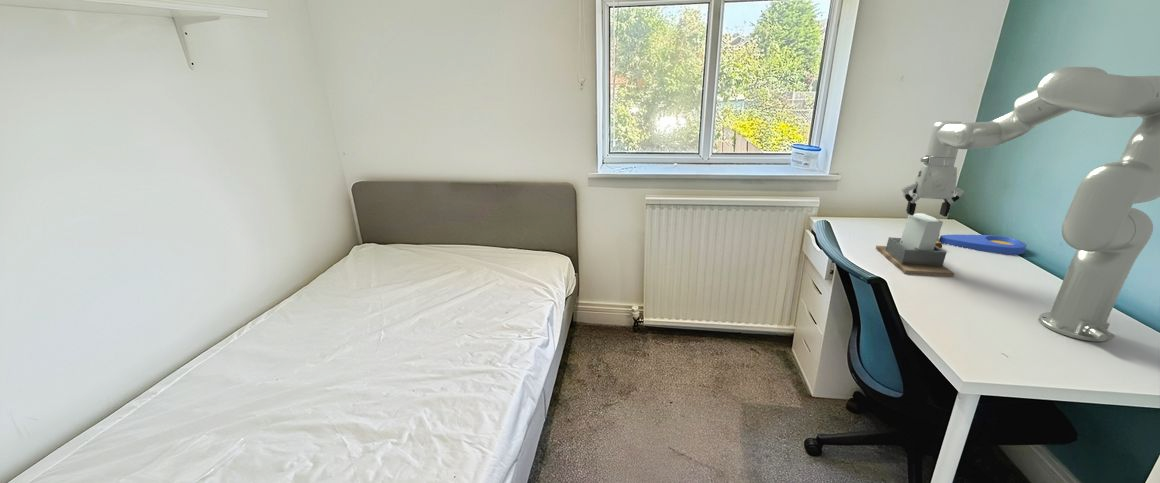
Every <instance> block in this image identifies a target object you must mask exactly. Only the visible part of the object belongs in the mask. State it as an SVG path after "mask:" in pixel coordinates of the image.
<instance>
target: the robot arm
mask: <svg viewBox="0 0 1160 483" xmlns="http://www.w3.org/2000/svg"><path fill="white" fill-rule="evenodd" d="M1072 111H1074V112H1075V111H1076V112H1079V113H1080V112H1081V113H1084V114H1085V113H1086V114H1090V115H1094V116H1099V117H1105V118H1106V117H1107V118H1112V119H1113V118H1119V119H1121V118H1139V117H1140V118H1141V119H1142V122H1141V123H1140V125H1139V126H1138V127H1137V128H1136V129H1135V130H1134V132H1133V133H1132V135H1131V136H1130V137H1129V139H1128V141H1127V142H1126V143H1127V144H1126V146H1125V148H1124V150H1123V152H1122V154H1121V156H1120V158H1119V159H1118V160H1117V161H1115V162H1113V161H1112V162H1107V163H1103V164H1101V165H1099V166H1096V167H1095V168H1093V169H1091V171H1089V172H1088V173H1087V174H1086V175H1085V176H1084V177H1083V178H1082V180H1081V181H1080V183H1079V185H1078V187H1077V190H1076V192H1075V193H1074V195H1073V198H1072V201H1071V202H1070V205H1069V208H1068V209H1067V211H1066V214H1065V216H1064V218H1063V221H1062V224H1061V235H1062V238H1063V240H1064V241H1065V242H1066V244H1067V245H1068V246H1070V247H1071V248H1073V249H1075V250H1076V252H1075V253H1074V255H1073V257H1072V259H1071V261H1070V264H1069V265H1068V267H1067V270H1066V273H1065V276H1064V278H1063V280H1062V283H1061V285H1060V287H1059V290H1058V293H1057V295H1056V298H1055V300H1054V302H1053V305H1052V307H1051V309H1050V312H1049V311H1047V312H1042V313H1040V315H1039V317H1038V320H1039V322H1040V324H1042V325H1043V326H1044V327H1046V328H1048V329H1049V330H1051V331H1054V332H1055V333H1059V334H1060V335H1062V336H1063V335H1064V336H1066V337H1070V338H1074V339H1078V340H1082V341H1089V342H1106V341H1109V340H1112V339H1114V338H1115V334H1114V333H1113V332H1111V331H1109V326H1110V324H1111V323H1110V322H1108V318H1110V315H1111V312H1112V311H1113V308H1114V306H1115V304H1116V302H1117V299H1118V297H1119V296H1120V293H1121V292H1122V288H1123V287H1124V284H1125V282H1126V281H1127V278H1128V276H1129V274H1130V272H1131V270H1132V268H1133V265H1134V264H1135V262H1136V260H1137V259H1138V258H1139V255H1140V254H1141V252H1142V251H1143V250H1144V248H1145V247H1146V246H1147V244H1148V243H1149V241H1150V239H1151V237H1152V235H1153V232H1154V224H1153V221H1152V219H1151V217H1150V215H1148V214H1147V213H1145V212H1144V211H1143V210H1141V209H1138V208H1135V207H1132V206H1133V205H1135V204H1141V203H1142V204H1143V203H1147V202H1152V201H1155V200H1157V199H1158V198H1160V75H1132V76H1131V75H1130V76H1129V75H1122V74H1121V75H1120V74H1113V73H1108V72H1107V71H1106V70H1105V69H1102V68H1100V67H1094V66H1066V67H1061V68H1060V67H1059V68H1057V69H1055V70H1053V71H1051V72H1049V73H1048V74H1047V75H1045V76H1044V77H1043V78H1042V79H1041V80H1040V82H1038V85H1037V87H1036V88H1035V89H1033V90H1032V91H1029V92H1027V93H1025V94H1023V95H1020V96H1019V97H1018V98H1016V99H1015V101H1014V104H1013V110H1011V111H1010V112H1008V113H1006V114H1004V115H1002V116H1000V117H998V118H995V119H993V120H990V121H975V122H963V121H957V120H939V121H936V122H934V123H933V126H932V130H931V134H930V138H929V143H928V146H927V151H926V155H925V156H924V157H922V158H920V162H921V163H923V164H922V165H921V167H920V168H919V170H918V173H917V175H916V177H915V180H914V183H912V184H910V185H907V186H905V187H902V189H901V192H902V195H903V197H904V198H905V200H906V202H907V205H906V214H907V215H914V214H915V212H916V208H917V203H916V202H917V201H918V200H920V199H926V200H929V199H930V200H931V199H932V200H943V202H942V203H941V207H940V210H939V215H940V216H943V217H948V215H949V213H950V211H951V207H952V205H954V204H955V202H956V201H958V200H959V199H960V197H962V195H963V194H964V193H965V190H964V189H961V188H960V187H958V186H957V178H958V177H957V176H958V168H957V167H956V166H955V164H956V160H957V156H958V151H959V150H975V149H988V148H993V147H997V146H999V145H1002V144H1005V143H1007V142H1011V141H1013V140H1015V139H1018V138H1019V137H1021V136H1023V135H1025V134H1027V133H1029V132H1030V131H1032V130H1033V129H1034V128H1035V127H1037V126H1038V125H1040V124H1042V123H1045V122H1048V121H1051V120H1052V119H1055V118H1056V117H1059V116H1062V115H1064V114H1067V113H1069V112H1072ZM910 191H911V192H912V194H911V195H910Z"/></svg>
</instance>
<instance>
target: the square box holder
mask: <svg viewBox="0 0 1160 483" xmlns="http://www.w3.org/2000/svg"><path fill="white" fill-rule="evenodd" d="M900 240H901V237H888V239H887V244H886V245H875V250H876V251H878V252H879V253H880V254H881V255H883V256H884V257H885V259H887V260H888V261H889V262H890V263H892V264H893V265H894V267H896V268H897V269H898V270H900V271H901V272H902V273H903V274H905V275H915V276H916V275H919V276H920V275H921V276H931V277H932V276H934V277H951V278H954V276H955V272H953V271H952V270H951V269H949V268H948V267H946V266H945V265H944V262H945V259H946V256H947V252H946V251H945V250H943V249H942V248H939V247H938V246H936V245H935V247H934V250H933V251H931V250H914V249H906V248H905V247H904V246H902V245H901V244H900Z"/></svg>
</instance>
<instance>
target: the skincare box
mask: <svg viewBox="0 0 1160 483" xmlns="http://www.w3.org/2000/svg"><path fill="white" fill-rule="evenodd" d="M907 215H908V216H907V219H906V222H905V224H904V228H903V232H902V234H901V237H900V238H901V240H900V244H901V245H902V246H904V247H905V248H906V249H914V250H931V251H933V250H934V247H935V244H936V241H938V239H939V237H938V235H939V236H940V234H939V232H941V229H942V226H943V223H944V221H943V220H940V219H938V218H936V217H934V216H931V215H928V214H926V213H924V212H922V213H921V212H920V213H919V212H917V213H914V215H909V214H907ZM937 238H938V239H937Z"/></svg>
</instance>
